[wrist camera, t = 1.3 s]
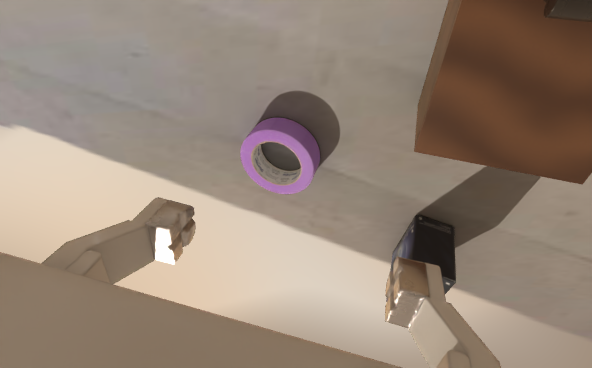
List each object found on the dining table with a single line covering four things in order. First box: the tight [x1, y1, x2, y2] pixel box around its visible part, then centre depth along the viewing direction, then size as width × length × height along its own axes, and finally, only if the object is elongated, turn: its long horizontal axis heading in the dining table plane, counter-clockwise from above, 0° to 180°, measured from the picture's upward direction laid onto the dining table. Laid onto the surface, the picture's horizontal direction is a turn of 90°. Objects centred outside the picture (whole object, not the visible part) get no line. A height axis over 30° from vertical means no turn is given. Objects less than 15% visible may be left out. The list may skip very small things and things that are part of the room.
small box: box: [386, 215, 456, 302], centre depth 51 cm, size 11×6×10 cm, turn 170°
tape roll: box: [240, 118, 320, 194], centre depth 51 cm, size 12×12×4 cm
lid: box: [414, 0, 592, 184], centre depth 25 cm, size 17×15×5 cm
